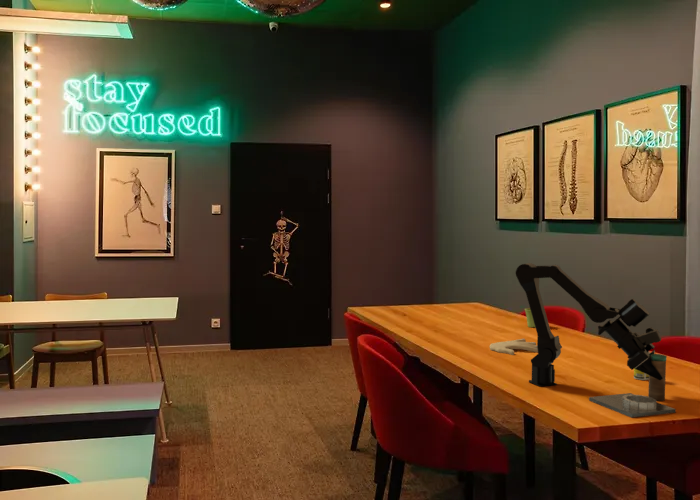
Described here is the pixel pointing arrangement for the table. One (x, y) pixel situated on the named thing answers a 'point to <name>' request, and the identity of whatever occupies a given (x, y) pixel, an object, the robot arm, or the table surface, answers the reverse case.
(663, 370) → the travel tumbler
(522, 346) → the hand model
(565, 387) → the table surface
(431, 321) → the table surface
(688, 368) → the table surface
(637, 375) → the supplement bottle
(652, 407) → the hub
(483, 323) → the table surface
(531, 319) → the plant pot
